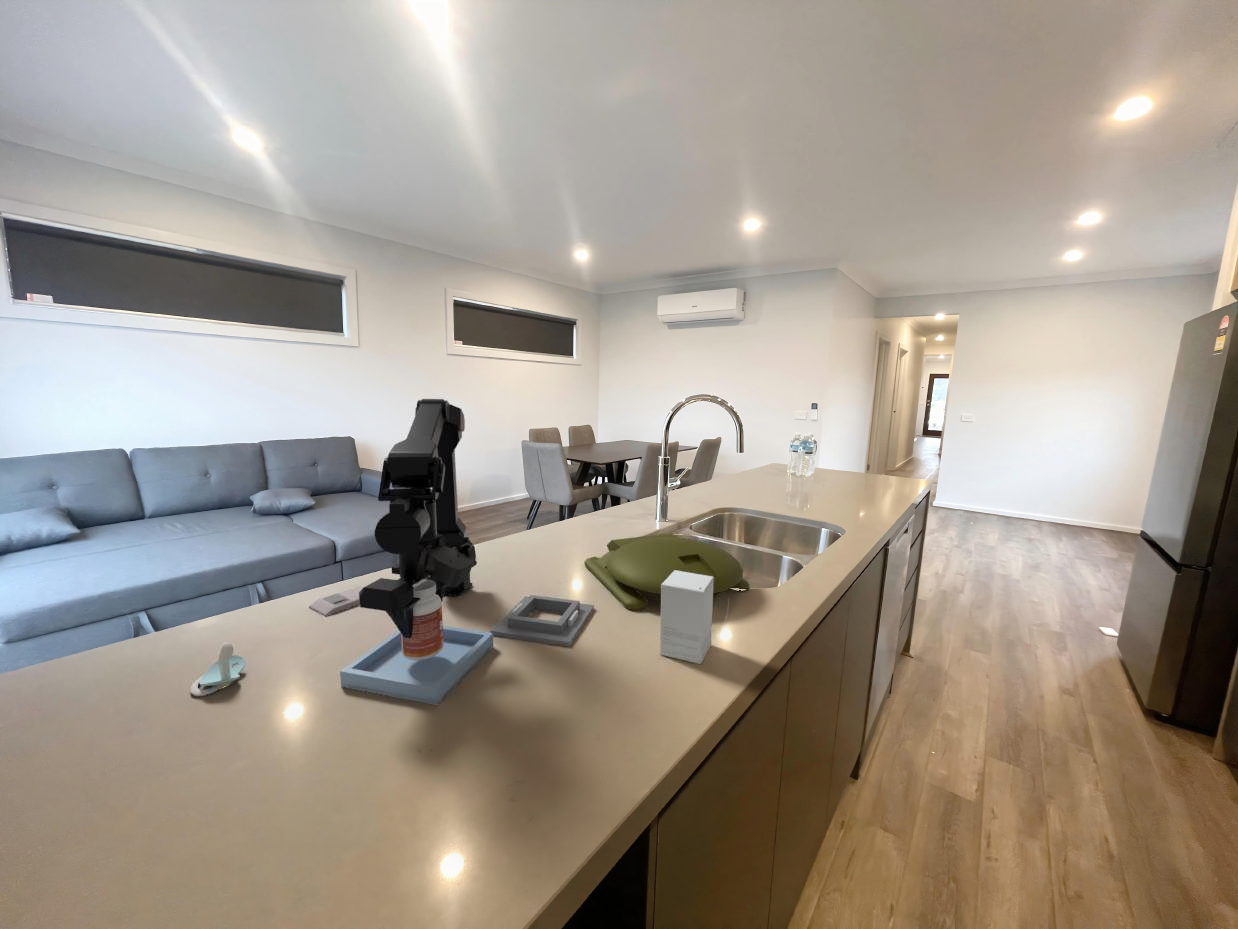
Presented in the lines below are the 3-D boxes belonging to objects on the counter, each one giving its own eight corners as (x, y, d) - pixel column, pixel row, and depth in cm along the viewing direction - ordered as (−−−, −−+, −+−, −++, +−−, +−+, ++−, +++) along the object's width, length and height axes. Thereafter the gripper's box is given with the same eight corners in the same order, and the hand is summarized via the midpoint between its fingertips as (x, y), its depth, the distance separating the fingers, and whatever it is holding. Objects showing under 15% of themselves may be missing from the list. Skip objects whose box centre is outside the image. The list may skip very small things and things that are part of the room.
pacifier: (183, 705, 67) (237, 692, 69) (176, 663, 66) (231, 652, 68) (199, 677, 73) (248, 666, 76) (193, 639, 72) (242, 629, 75)
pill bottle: (450, 652, 76) (447, 585, 75) (410, 667, 72) (407, 597, 70) (434, 637, 81) (431, 574, 79) (395, 650, 77) (391, 584, 75)
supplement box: (712, 644, 85) (715, 576, 83) (700, 666, 78) (704, 592, 76) (672, 635, 88) (674, 568, 86) (657, 654, 81) (660, 583, 79)
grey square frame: (490, 634, 86) (489, 622, 86) (525, 600, 101) (525, 589, 101) (569, 646, 83) (569, 633, 83) (594, 608, 97) (594, 597, 97)
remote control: (298, 613, 94) (297, 599, 94) (376, 587, 107) (375, 574, 107) (315, 623, 91) (314, 608, 90) (393, 594, 104) (392, 581, 103)
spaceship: (581, 565, 122) (581, 528, 121) (686, 551, 134) (687, 517, 133) (641, 629, 91) (643, 579, 89) (771, 603, 103) (775, 559, 101)
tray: (341, 686, 71) (339, 671, 70) (411, 634, 86) (411, 621, 86) (437, 705, 67) (436, 688, 67) (493, 646, 83) (493, 633, 82)
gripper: (425, 557, 63) (430, 668, 65) (494, 520, 80) (496, 608, 83) (352, 549, 65) (360, 656, 68) (435, 514, 83) (439, 600, 85)
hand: (421, 627), depth 76 cm, fingers closed on pill bottle, 6 cm apart
